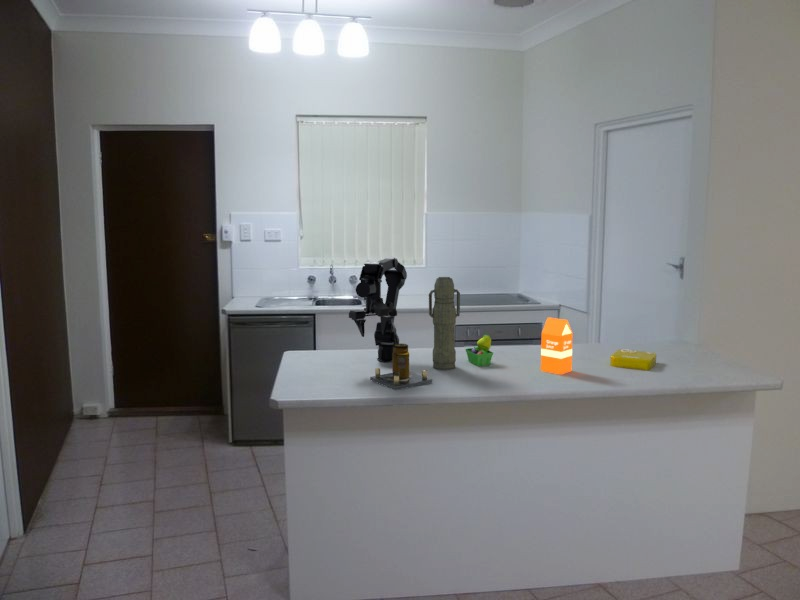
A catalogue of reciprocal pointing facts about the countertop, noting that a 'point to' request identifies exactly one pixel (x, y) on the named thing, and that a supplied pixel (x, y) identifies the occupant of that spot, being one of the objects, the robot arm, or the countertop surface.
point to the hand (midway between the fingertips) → (373, 335)
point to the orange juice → (556, 346)
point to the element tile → (633, 359)
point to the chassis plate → (397, 384)
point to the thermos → (444, 322)
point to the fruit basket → (480, 352)
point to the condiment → (400, 362)
